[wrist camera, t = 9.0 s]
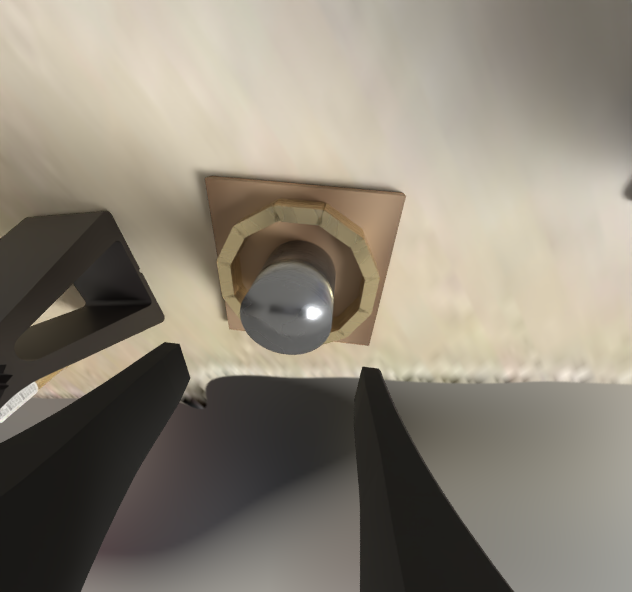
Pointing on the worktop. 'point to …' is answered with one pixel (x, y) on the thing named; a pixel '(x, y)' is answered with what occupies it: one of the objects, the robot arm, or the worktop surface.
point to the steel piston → (291, 299)
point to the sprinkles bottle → (24, 395)
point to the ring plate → (312, 226)
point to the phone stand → (52, 281)
